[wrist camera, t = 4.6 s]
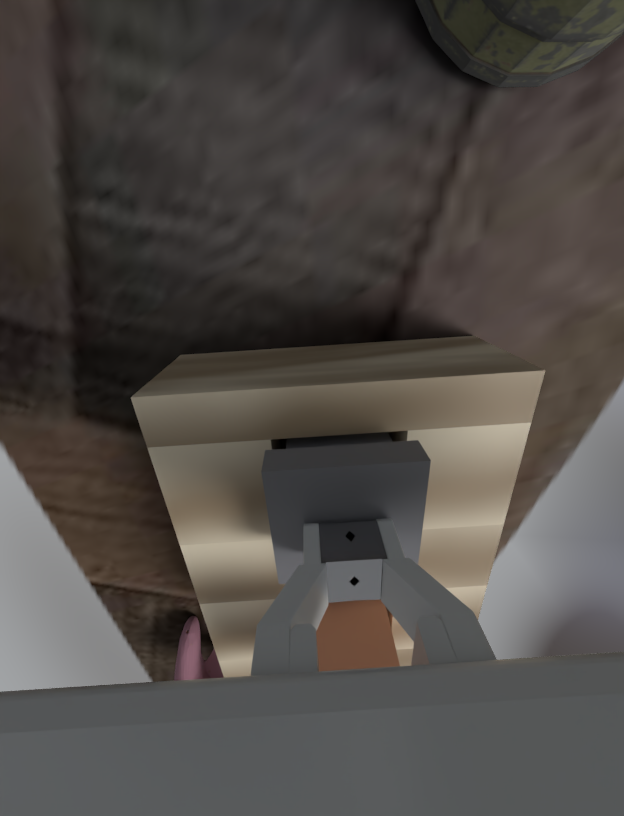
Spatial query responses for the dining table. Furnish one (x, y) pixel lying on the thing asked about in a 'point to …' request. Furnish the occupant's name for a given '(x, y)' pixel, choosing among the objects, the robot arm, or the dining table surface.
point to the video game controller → (194, 656)
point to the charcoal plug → (343, 489)
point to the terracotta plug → (355, 636)
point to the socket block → (326, 416)
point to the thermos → (522, 36)
